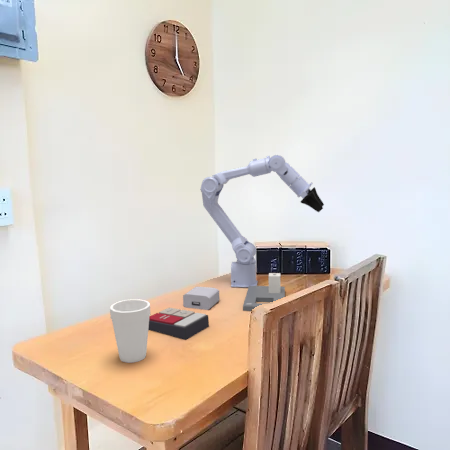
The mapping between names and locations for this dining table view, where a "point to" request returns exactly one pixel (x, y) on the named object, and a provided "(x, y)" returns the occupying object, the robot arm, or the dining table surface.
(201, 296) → the charger
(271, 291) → the charger
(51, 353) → the dining table surface
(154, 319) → the black button box
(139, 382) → the dining table surface
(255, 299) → the socket board
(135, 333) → the foam cup
